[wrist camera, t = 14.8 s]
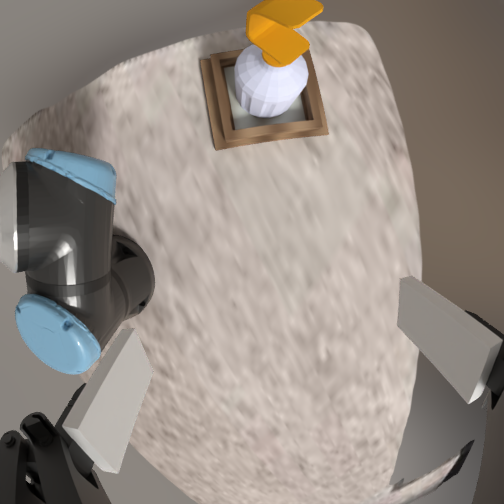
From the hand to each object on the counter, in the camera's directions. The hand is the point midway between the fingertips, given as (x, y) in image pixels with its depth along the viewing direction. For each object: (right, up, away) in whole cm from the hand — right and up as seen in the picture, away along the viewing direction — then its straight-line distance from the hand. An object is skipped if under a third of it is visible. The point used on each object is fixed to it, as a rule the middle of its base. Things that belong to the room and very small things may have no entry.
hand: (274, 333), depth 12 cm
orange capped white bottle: (+1, +28, +25) cm, 38 cm away
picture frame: (+1, +29, +26) cm, 39 cm away
